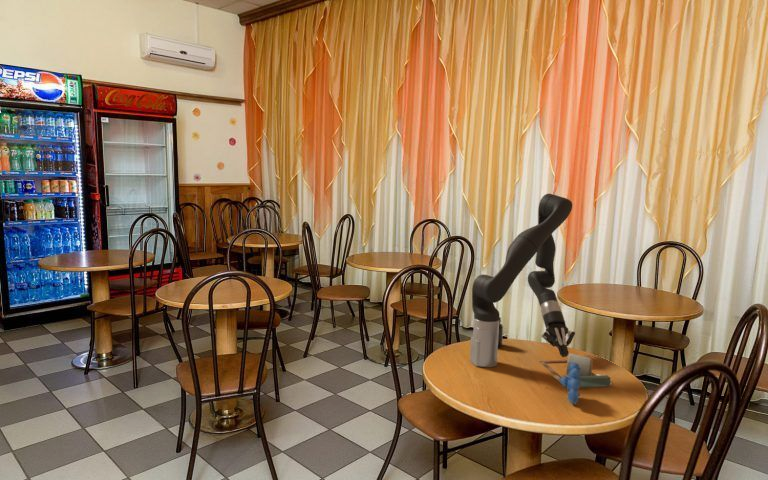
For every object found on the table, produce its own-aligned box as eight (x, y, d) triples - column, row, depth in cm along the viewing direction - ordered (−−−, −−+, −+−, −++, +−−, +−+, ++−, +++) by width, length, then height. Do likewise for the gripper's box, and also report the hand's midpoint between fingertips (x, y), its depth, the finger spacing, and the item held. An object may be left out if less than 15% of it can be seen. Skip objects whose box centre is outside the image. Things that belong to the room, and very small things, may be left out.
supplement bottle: (504, 344, 205) (505, 316, 203) (498, 349, 199) (500, 320, 198) (488, 341, 208) (490, 314, 207) (482, 346, 203) (484, 317, 201)
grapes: (558, 391, 160) (560, 355, 159) (580, 394, 158) (582, 358, 157) (558, 406, 150) (560, 368, 148) (581, 410, 147) (584, 372, 146)
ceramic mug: (590, 382, 168) (592, 360, 167) (565, 377, 172) (567, 356, 171) (592, 372, 177) (594, 351, 177) (568, 368, 181) (570, 347, 180)
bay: (536, 362, 186) (536, 354, 185) (578, 360, 188) (578, 353, 188) (565, 387, 163) (566, 379, 163) (613, 386, 165) (614, 377, 165)
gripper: (539, 310, 188) (551, 352, 177) (572, 309, 189) (586, 351, 179) (532, 319, 194) (544, 360, 183) (564, 319, 195) (578, 359, 185)
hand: (565, 356), depth 181 cm, fingers closed
